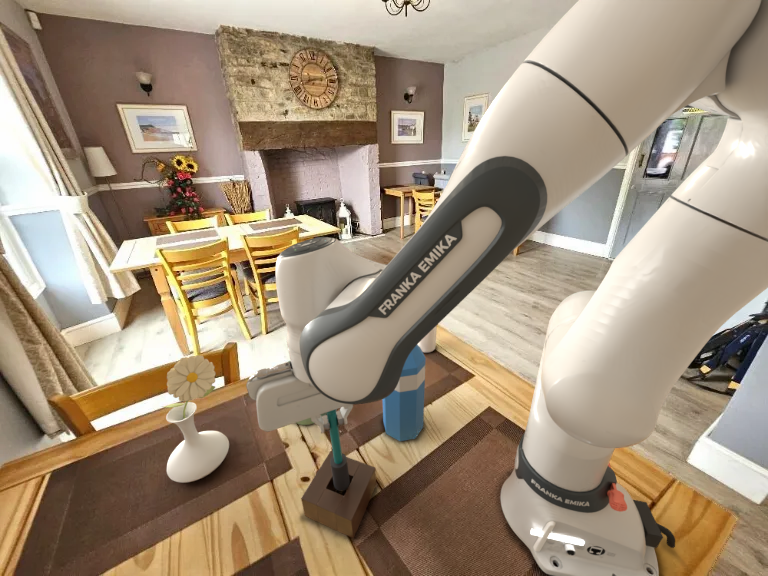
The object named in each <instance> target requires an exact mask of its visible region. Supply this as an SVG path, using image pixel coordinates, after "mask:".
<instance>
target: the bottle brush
mask: <svg viewBox="0 0 768 576" xmlns="http://www.w3.org/2000/svg"><path fill="white" fill-rule="evenodd" d="M336 411H338V409H335V410H332V411H329V412H326V415H327V417H328V420H329V424H330V430H329V436H330V443H331V449H332V452H333V456H332V458H331V460H330V464H331V470H332V476H333V482H334V487H335V489H336V490H337V491H338V492H343V491H346V490H345V489H347V488H348V486H349V484H350V479H349V472H348V464H347V457H348V456H347V455H346V454H344V453H343V452H342V444H341V437H340V430H339V427H338V422H337V414H336Z"/></svg>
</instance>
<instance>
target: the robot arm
mask: <svg viewBox="0 0 768 576" xmlns="http://www.w3.org/2000/svg"><path fill="white" fill-rule="evenodd" d="M683 108H685V109H698V110H702V111H705V112H707V113H708V112H709V113H713V114H716V115H721V116H726V117H727V120H726V124H725V127H724V131H723V133H722V136H721V138H720V140H719V142H718V144H717V145H716V148H715V149H714V151H713V152H712V153H711V154H710V155H709V156H708V157H706V158H705V159H704V160H703V161H702V162H701V163H700V164H699V165H698V166H697V167H696V168H695V169H694V170H693V171H692V172H691V173H690V174H689V175H688V176H687V177H686V178H685V179H684V180H683V181H682V183H680V184H679V186H678V187H677V188H676V189H675V190H674V191H673V192H672V194H671V196H668V197H667V198H666V200H665V201H664V202H663V203H662V205H660V207H659V208H658V209H657V210H656V211H655V212H654V213H653V214H652V216H650V218H649V219H648V220H647V222H645V224H644V225H643V226H642V227H641V228H640V229H639V230H638V231H637V233H636V234H635V235H634V236H633V237H632V238H631V240H630V241H629V242H628V243H627V244H626V245H625V246H624V247H623V248H622V250H621V251H619V253H618V254H617V255H616V256H615V258H614V259H613V261H612V263H611V264H610V267H609V269H608V271H607V273H606V274H605V276H604V277H603V279H602V281H601V282H600V284H599V285H598V287H597V289H596V290H581V291H577V292H574V293H572V294H570V295H568V296H567V297H565V298H564V299H562V301H560V303H559V305H557V306H556V308H555V309H554V311H553V313H552V314H551V316H550V317H549V321H548V325H547V329H546V334H545V339H544V343H543V348H542V353H541V356H540V357H541V358H540V362H539V367H538V371H537V377H536V381H535V386H534V391H533V395H532V400H531V405H530V409H529V413H528V418H527V421H526V426H525V430H524V433H523V434H522V435H521V437H520V439H519V443H518V445H517V448H516V452H515V458H514V467H513V470H512V472H511V473H510V475H509V476H508V477H507V478H506V479H505V481H504V482H503V484H502V486H501V489H500V497H499V498H500V506H501V510H502V513H503V516H504V518H505V521H506V522H507V524H508V525H509V527H510V529H511V530H512V531H513V533H514V534H515V535H516V536H517V537H518V538H519V539H520V541H521V542H522V543H523V544H524V545H525V546H526V547H527V548H528V549H529V551H530V553H531V555H532V556H533V559H534V560H535V562H536V564H537V565H538V567H539V568H540V570H541V571H542V572H543V573H545V574H547V575H549V576H659V575H660V571H659V563H658V557H657V553H656V550H655V549H657V548H658V547H659V545H660V543H661V541H662V540H663V538H664V536H665V537H666V545H667V546H668V547H669V548H671V549H674V548H676V537H675V535H674V533H673V532H672V531H671V530H670V529H668V528H667V527H666V526H663V525H662V524H660V523H658V522H657V521H656V519H655V516H654V515H653V513H652V510H651V509H650V507H649V504H648V503H647V502H646V501H642V500H637V499H633V497H632V496H631V493H629V492H628V490H627V489H626V488H625V487H624V486H623V485H622V484H620V483H619V482H618V479H617V475H616V473H615V471H614V470H613V469H612V466H611V462H610V461H611V459H612V456H613V455H614V452H615V450H616V449H623V448H630V447H633V446H636V445H639V444H640V443H642V442H644V441H645V440H648V438H649V437H650V436H651V435H652V434H653V432H654V431H655V429H656V426H657V423H658V419H659V417H660V413H661V410H662V408H663V405H664V404H665V401H666V399H667V397H668V396H669V394H670V392H671V391H672V389H673V387H674V386H675V385H676V383H677V382H678V381H679V379H680V378H681V377H682V375H683V374H684V373H685V372H686V370H687V369H688V367H689V366H690V365H691V363H692V362H693V361H694V359H695V358H696V357H697V356H698V354H699V353H700V352H701V351H702V349H703V348H705V346H706V344H707V343H708V342H709V341H710V339H711V338H712V337H713V336H714V335H715V334H716V333H717V332H718V331H719V330H720V328H722V327H723V326H724V324H726V322H728V321H729V320H730V319H731V318H732V317H733V316H734V315H736V314H737V313H738V312H739V311H740V310H742V309H743V308H744V307H746V306H747V305H748V304H749V303H750V302H751V301H753V300H754V299H755V298H757V297H758V296H759V295H761V294H762V293H763V292H765V290H767V289H768V0H577V1H576V2H575V4H573V5H572V6H571V7H570V9H568V10H567V12H566V13H565V14H564V15H563V16H562V17H561V18H560V19H559V20H558V21H557V22H556V23H555V24H554V25H553V27H551V29H550V30H549V31H548V32H547V33H546V34H545V36H543V38H542V39H541V40H540V41H539V42H538V43H537V45H535V47H534V48H533V49H532V51H531V52H530V53H529V54H528V55H527V56H526V57H525V59H524V60H523V61H522V62H521V64H520V65H518V67H517V68H516V70H515V71H514V72H513V73H512V75H511V76H510V78H509V79H508V80H507V81H506V83H505V84H504V85H503V86H502V88H501V89H500V91H498V94H497V95H496V96H495V98H494V99H493V100H492V102H491V104H490V105H489V106H488V108H487V110H486V111H485V113H484V114H483V116H482V117H481V119H480V120H479V122H478V123H477V125H476V127H475V129H474V130H473V131H472V132H473V133H471V136H470V138H469V139H468V141H467V142H466V145H465V147H464V148H463V151H462V152H461V155H460V156H459V158H458V160H457V162H456V165H455V167H454V168H453V171H452V173H451V175H450V177H449V179H448V181H447V184H446V185H445V187H444V189H443V191H442V192H441V195H440V196H439V198H438V200H437V202H436V203H435V204H434V207H433V208H432V210H431V211H430V213H429V214H428V216H427V217H426V219H425V220H424V221H423V223H422V224H421V226H420V227H419V228H418V230H417V231H416V232H415V233H414V234H413V235H412V236H411V238H410V239H408V240H407V241H406V243H405V244H404V246H402V248H401V249H400V250H399V251H398V252H397V253H396V254H395V256H394V257H393V258H392V259H391V260H390V262H388V263H387V264H385V263H381V262H379V261H378V262H377V261H375V260H372V259H369V258H367V257H364V256H361V255H359V254H357V253H355V252H353V251H351V250H350V249H349V248H347V247H346V246H345V245H344V244H343V243H342V242H341V241H340V240H339V239H337V238H334V237H328V236H320V237H314V238H309V239H306V240H303V241H300V242H297V243H294V244H293V245H291V246H289V247H287V248H285V249H284V250H282V251H281V252H280V254H279V255H277V257H276V262H275V287H276V294H277V301H278V307H279V311H280V315H281V318H282V320H283V321H284V323H285V325H286V330H287V332H286V345H287V350H288V355H289V361H290V360H291V361H290V362H288V361H287V362H284V363H280V364H277V365H274V366H271V367H268V368H261V369H259V370H256V371H255V374H253V375H251V376H250V377H249V378H248V379H247V381H246V385H245V387H246V390H247V391H246V392H247V394H248V396H249V398H250V399H251V400H253V401H255V406H256V417H257V422H258V427H259V429H260V430H262V431H263V432H265V433H266V432H267V433H269V432H273V431H275V430H278V429H282V428H284V427H287V426H290V425H293V424H297V423H296V422H299V421H302V420H305V419H308V418H311V421H312V422H314V423H313V424H315V425H316V426H318V427H319V431H320V434H324V433H326V432H330V424H329V420H328V417H327V413H326V412H329V411H332V410H335V409H337V410H336V414H337V422H338V428H339V427H342V426H345V425H348V417H349V415H350V413H351V411H353V408H354V405H365V404H370V403H375V402H379V401H383V400H382V399H384V398H386V397H388V396H389V395H390V394H391V393H392V392H393V391H394V390H395V388H396V386H397V384H398V382H399V379H400V376H401V373H402V370H403V367H404V364H405V362H406V360H407V358H408V356H409V354H410V353H411V351H412V350H413V349H414V348H415V346H416V345H417V344H418V343H419V342H420V341H421V340H422V339H423V338H424V337H425V336H426V335H427V334H428V333H429V332H430V331H431V330H432V329H433V328H434V327H435V326H436V325H437V326H438V324H440V323H441V322H442V321H443V320H444V319H445V318H446V317H447V316H448V315H449V314H450V313H451V312H452V311H453V310H454V309H456V308H457V306H458V305H459V304H460V303H461V302H462V301H464V300H465V298H466V297H468V296H469V295H470V294H471V293H472V292H473V291H474V290H475V289H476V288H477V287H478V286H479V285H480V284H481V283H482V282H483V281H484V280H485V279H486V278H487V277H488V276H489V275H490V274H491V273H492V272H493V271H494V270H495V269H496V268H497V267H498V266H499V265H500V264H501V263H502V262H503V261H504V260H505V259H506V258H507V257H508V256H510V254H511V253H512V252H513V251H515V250H516V249H517V248H518V247H519V246H521V245H522V244H523V243H525V241H527V240H528V239H529V238H531V236H533V235H534V234H535V233H536V232H537V231H539V230H540V229H541V228H542V227H543V225H545V224H546V223H548V222H549V221H550V220H551V219H552V218H554V217H555V216H556V215H557V214H558V213H560V212H561V211H562V210H563V209H565V208H566V207H567V206H569V205H570V204H571V203H573V202H574V201H575V200H576V199H577V198H579V197H580V196H581V195H583V194H584V193H585V192H586V191H587V190H588V189H590V188H591V187H592V186H593V185H594V184H596V183H597V182H599V180H601V179H602V178H603V177H605V175H607V174H608V173H609V172H610V171H611V170H612V169H614V168H615V167H616V166H617V165H618V164H619V163H621V162H622V161H623V160H624V159H625V158H626V157H627V156H628V155H630V153H631V152H633V151H634V150H635V149H637V148H638V146H639V145H640V144H642V143H643V142H644V141H645V140H646V139H647V138H648V137H649V136H651V135H652V133H654V132H655V131H656V130H657V129H658V128H659V127H660V126H661V125H662V124H663V123H664V122H665V121H666V120H667V119H668V118H670V117H671V116H672V115H674V114H676V113H677V112H678V111H681V110H682V109H683ZM323 413H326V415H324V416H321V415H320V414H323ZM663 535H664V536H663ZM556 565H557V566H556Z"/></svg>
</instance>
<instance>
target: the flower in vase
mask: <svg viewBox="0 0 768 576" xmlns="http://www.w3.org/2000/svg"><path fill="white" fill-rule="evenodd" d="M216 375H217V374H216V371H215V365H214V363H213V362H212V361H209V359H208V358H205V357H204V356H203V355H199V354H197V355H190V356H188V357H187V356H186V357H181V358H180V359H179V360H178V361H177V362H176V363H175V364H174V366H173V367H172V368H170V370H169V371H167V374H166V380H167V382H166V386H167V393H168V395H170V396H171V395H172V397H173V398H175V399H177V398H178V401H179V402H176V403H170V404H167V405H165V406H163V405H161V406H160V407H163V408H166V409H170V410H169V411H168V413H167V414H166V417H165V419H166V421H167V422H168V423H170V424H174V425H176V426H177V427H178V428H179V430H180V431H181V433H182V435H183V438H184V439H183V440H182V441H181V442H180V443H179V444H178V445H177V446H176V447H175V448H174V450H173V451H172V452H171V453H170V456H169V457H168V460H167V463H166V474H167V476H168V478H169V479H170V480H171V481H174V482H176V483H192V482H195V481H198V480H200V479H203V478H205V477H207V476H208V475H210V474H211V473H213V472H214V471H215V470H216V469H218V467H220V465H221V464H222V462H223V461H224V460H225V458H226V457H227V454H228V452H229V448H230V441H229V438H228V437H227V436H226V435H225V434H224V433H223V432H221V431H218V430H203V431H199V432H198V430H197V428H196V425H195V419H194V417H195V413H196V411H197V404H196V403H195V402H192V400H197V399H203V398H205V397H207V396H208V395H210V393H212V392H213V391H214V390H215V388H216V386H215V385H214V384H215V383H216V378H215V376H216ZM183 401H184V402H183Z"/></svg>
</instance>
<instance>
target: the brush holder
mask: <svg viewBox="0 0 768 576" xmlns="http://www.w3.org/2000/svg"><path fill="white" fill-rule="evenodd" d="M332 456H333V450H330V451H329V452H328V454H327V455H326V457H325V459H324V460H323V463H322V464H321V465H320V467H319V468H318V470H317V472H316V474H315V475H314V477H313V478H312V480H311V481H310V483H309V484H308V486H307V488H306V489H305V492H304V493H303V494H302V496H301V498H300V499H301V504H302V509H303V513H304V517H307V518H308V519H311V520H313V521H314V522H317V523H319V524H321V525H323V526H326V527H328V528H330V529H332V530H334V531H336V532H339V533H341V534H343V535H345V536H347V537H349V538H351V539H355V536H356V533H357V532H358V529H359V527H360V524H361V522H362V520H363V517H364V515H365V512H366V511H367V508H368V505H369V503H370V501H371V499H372V496H373V494H374V491H375V489H376V487H377V473H376V472H377V471H376V467H375V466H372V465H369V464H367V463H364V462H361V461H359V460H356V459H353V458H351V457H348V456H346V457H347V464H348V472H349V479H350V484H349V486H348V488H347V489H345V490H344V491H345V492H344V495H343V494H341V493H338V492H337V491H338V490H336V489H335V487H334V482H333V476H332V470H331V464H330V460H331V458H332Z"/></svg>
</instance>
